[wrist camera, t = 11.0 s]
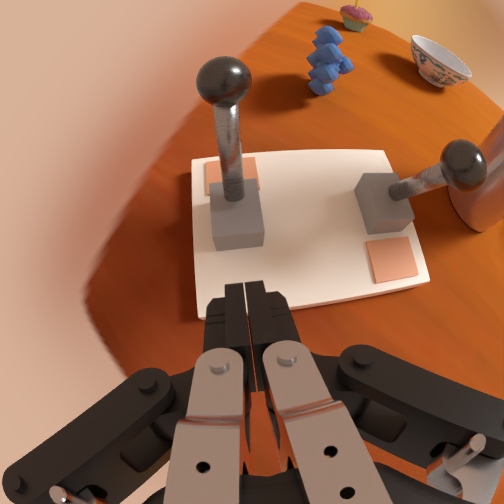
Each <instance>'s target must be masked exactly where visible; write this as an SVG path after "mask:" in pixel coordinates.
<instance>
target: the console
mask: <svg viewBox="0 0 504 504" xmlns="http://www.w3.org/2000/svg"><path fill="white" fill-rule="evenodd" d="M242 162H243V176H244V191H245V197H244V198H243V199H242V200H240V201H238V202H229V201H227V200H225V198H224V192H223V184H222V176H221V168H220V160H219V156H218V157H210V158H202V159H194V160H192V219H193V246H194V266H195V282H196V296H197V309H198V318H200V319H201V320H205V319H206V307H207V305H208V304H209V302H210V301H211V300H212V298H220V297H225V284H233V283H242V282H243V287H244V295H245V303H246V311H247V316H248V310H247V301H246V292H245V282H251V281H260V280H263V282H264V286H265V290H266V292H274V291H278V292H280V293H281V294H282V295H283V296H284V297H285V298H286V300H287V303H288V306H289V309H290V310H295V309H302V308H308V307H315V306H321V305H327V304H333V303H339V302H344V301H350V300H355V299H361V298H366V297H371V296H376V295H381V294H386V293H391V292H395V291H400V290H404V289H409V288H413V287H418V286H421V285H423V284H425V283H427V282H429V281H430V279H429V275H428V271H427V267H426V263H425V260H424V256H423V253H422V249H421V246H420V243H419V240H418V236H417V233H416V230H415V227H414V224H413V220H414V219H415V216H414V213H413V210H412V208H411V205H410V202H409V200H408V198H407V199H404V200H401V201H398V202H395V201H393V200H392V199H391V198H390V196H389V194H388V189H389V186H390V185H392V184H394V183H396V182H398V181H401V180H400V178H399V176H398V173H393V171H392V168H391V166H390V164H389V162H388V160H387V157H386V155H385V153H384V151H383V150H353V149H323V150H291V151H273V152H259V153H247V154H242Z"/></svg>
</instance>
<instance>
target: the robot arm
mask: <svg viewBox="0 0 504 504" xmlns="http://www.w3.org/2000/svg"><path fill="white" fill-rule="evenodd" d="M478 148H479V149H480V151H481V152H482V154H483V156H484V158H485V161H486V165H487V175H486V179H485V181H484V183H483V185H482V186H481V187H480V188H479V189H478V190H476V191H474V192H472V193H461V192H458V191H456V190H454V189H453V188H451V187H450V186H449V185H448V191H449V196H450V199H451V202H452V204H453V206H454V208H455V210H456V212H457V213H458V215H459V216H460V218H461V219H462V220H463V221H464V222H465V223H466V224H467V225H468V226H469V227H470V228H472V229H473V230H475V231H478V232H484V231H486V230H488V229H489V228H490V227H492V226H493V225H495V224H496V223H497V222H499V221H500V220H502V219H503V218H504V115H503V116H502V118H501V119H500V120H499V122H498V123H497V124H496V125H495V127H494V128H493V129H492V130H491V132H490V133H489V134H488V135H487V137H486V138H485V139H484V140H483V142H482V143H481V144H480V145H479V146H478ZM245 292H246V301H247V310H248V319H249V327H248V319H247V311H246V303H245V295H244V287H243V282H242V283H233V284H225V297H220V298H212V300H211V301H210V302H209V304H208V305H207V307H206V319H205V332H204V346H203V354H202V355H201V356H200V357H199V358H198V359H197V361H196V364H195V367H193V368H192V369H190V370H188V371H186V372H183V373H180V374H177V375H173V376H170V377H169V376H168V374H167V373H166V372H164V371H163V370H161V369H158V368H145V369H142V370H139V371H137V372H136V373H134V374H133V375H131V376H130V377H129V378H128V379H126V380H125V381H124V382H123V383H121V384H120V385H119V386H117V387H116V388H115V389H114V390H112V391H111V392H110V393H108V394H107V395H106V396H104V397H103V398H102V399H101V400H99V401H98V402H97V403H95V404H94V405H93V406H91V407H90V408H89V409H88V410H86V411H85V412H83V413H82V414H81V415H79V416H78V417H77V418H76V419H74V420H73V421H72V422H70V423H69V424H67V425H66V426H65V427H63V428H62V429H61V430H59V431H58V432H57V433H55V434H54V435H53V436H51V437H50V438H49V439H47V440H46V441H44V442H43V443H42V444H40V445H39V446H37V447H36V448H35V449H33V450H32V451H31V452H29V453H28V454H26V455H25V456H24V457H22V458H21V459H19V460H18V461H17V462H15V463H14V464H12V465H11V466H9V467H8V468H7V469H6V470H5V472H4V475H3V479H2V485H3V489H4V492H5V494H6V496H7V497H8V499H9V500H10V501H12V502H13V503H14V504H120V503H121V502H122V501H123V500H124V499H126V498H127V497H128V496H129V495H130V494H132V493H133V492H134V491H135V490H136V489H138V488H139V487H140V486H141V485H142V484H143V483H145V482H146V481H147V480H148V479H149V478H150V477H151V476H152V475H154V474H155V473H156V472H157V471H158V470H159V469H160V468H161V467H162V466H163V465H164V464H166V463H167V462H168V461H169V460H170V463H169V469H168V475H167V481H166V486H165V487H164V488H162V489H160V490H158V491H157V492H155V493H154V494H152V495H151V496H150V497H149V498H148V499H147V500H146V501H145V502H144V503H142V504H490V502H491V500H492V497H493V495H494V492H495V490H496V487H497V484H498V482H499V479H500V476H501V473H502V470H503V467H504V400H502V399H499V398H496V397H493V396H491V395H488V394H485V393H483V392H480V391H477V390H475V389H472V388H470V387H467V386H464V385H462V384H459V383H457V382H454V381H452V380H449V379H447V378H444V377H442V376H439V375H437V374H435V373H432V372H430V371H427V370H425V369H423V368H420V367H418V366H415V365H413V364H411V363H408V362H406V361H404V360H401V359H399V358H397V357H394V356H392V355H390V354H388V353H385V352H383V351H381V350H379V349H376V348H374V347H371V346H368V345H354V346H350V347H348V348H346V349H345V350H344V351H343V352H342V353H341V355H340V357H334V356H321V355H317V354H314V353H312V352H310V351H309V350H308V348H307V347H306V346H304V345H303V344H302V343H301V340H300V337H299V335H298V332H297V329H296V326H295V323H294V320H293V317H292V315H291V311H290V309H289V306H288V303H287V300H286V298H285V297H284V296H283V295H282V294H281V293H280V292H278V291H274V292H266V290H265V286H264V282H263V280H260V281H251V282H245ZM249 328H250V335H251V343H252V350H253V358H254V365H255V372H256V380H257V387H258V391H264V392H265V399H266V409H267V413H268V417H269V421H270V425H271V428H272V432H273V436H274V440H275V443H276V447H277V451H278V455H279V460H280V466H281V470H282V473H279V474H276V475H273V476H269V477H264V476H254V475H253V465H252V445H251V406H252V402H251V394H250V392H256V386H255V378H254V369H253V360H252V352H251V343H250V335H249ZM362 439H363V440H365V441H367V442H369V443H371V444H373V445H375V446H377V447H379V448H381V449H383V450H385V451H387V452H389V453H391V454H393V455H395V456H397V457H400V458H402V459H404V460H406V461H408V462H411V463H413V464H415V465H417V466H420V467H422V468H425V469H427V482H428V484H429V485H431V486H434V487H435V488H437V489H435V488H433V487H431V486H428V485H426V484H424V483H422V482H420V481H417V480H415V479H413V478H411V477H409V476H407V475H405V474H403V473H401V472H399V471H397V470H395V469H393V468H391V467H389V466H387V465H384V464H381V463H378V462H374V461H372V459H371V457H370V455H369V453H368V451H367V448H366V446H365V444H364V442H363V440H362Z"/></svg>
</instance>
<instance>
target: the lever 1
mask: <svg viewBox="0 0 504 504" xmlns="http://www.w3.org/2000/svg"><path fill="white" fill-rule="evenodd" d="M251 84H252V77H251V73H250V71H249V69H248V67H247V66H246V65H245V64H244V63H243V62H242V61H240V60H238V59H236V58H233V57H227V56H222V57H217V58H214V59H211V60H210V61H208V62H207V63H206V64H205V65H203V66H202V68H201V69H200V71H199V72H198V75H197V79H196V85H197V90H198V92H199V94H200V96H201V97H202V98H203V99H204V100H205V101H206V102H208V103H210V104H212V105H213V107H214V116H215V125H216V134H217V143H218V151H219V160H220V168H221V176H222V184H223V192H224V198H225V200H227V201H229V202H238V201H240V200H242V199H243V198H244V197H245V191H244V176H243V162H242V147H241V132H240V117H239V102H240V101H242V100H243V99H244V98H245V97H246V96H247V94H248V93H249V91H250V88H251Z"/></svg>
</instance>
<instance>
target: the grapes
mask: <svg viewBox="0 0 504 504" xmlns="http://www.w3.org/2000/svg"><path fill="white" fill-rule="evenodd" d="M315 33H316V35H317V36H318V37H317V38H316V39H315V40H314V41H312V42H313V43H314V45H315V46H316V48H317V49H316V50H315V52H313V53H312V54H310V55H309V56H308V57H307V60H308V61H309V63H310V64H311V65H312V66H313V69H312V70H311V71H309V72H308V74H309V76H310V77H311V79H312V80H311V81H310V82H309V83H308V86H309V87H310V89H311V90H312V91H313V92H314V93H315V94H318V95H320V96H325V95H327V94H328V93H330V92H331V91H332V90H334V88H333V86H332V84H331V83H332V82H334V81H335V80H336V79H338V78H339V77H340V76H339V74H342V75H343V74H346V73H349V72H350V71H351V70H353V69H354V66H353V64H352V62H351V61H350V60H349V59H348V58H347V57H346V56H343V54H342V52H341V51H340V49H339V48H338V47H337V46H338V45H339V44H340V43H341V42H343V39H342V37H341V35H340V34H339V33H338V32H337V31H336V30H335V29H334V28H332V27H331V26H324V27H322V28H320V29H319V30H318V31H316V32H315ZM337 72H338V73H339V74H338V73H337Z"/></svg>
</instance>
